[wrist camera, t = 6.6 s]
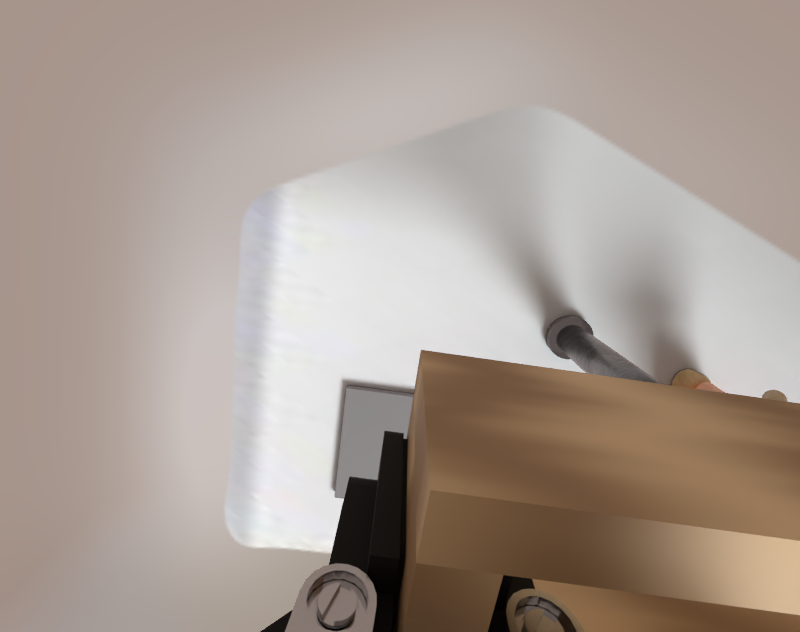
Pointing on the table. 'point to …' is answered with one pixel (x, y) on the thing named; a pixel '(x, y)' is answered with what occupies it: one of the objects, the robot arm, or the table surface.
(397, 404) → the rubber mat
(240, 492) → the table surface
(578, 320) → the post stand
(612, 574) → the open wooden frame
